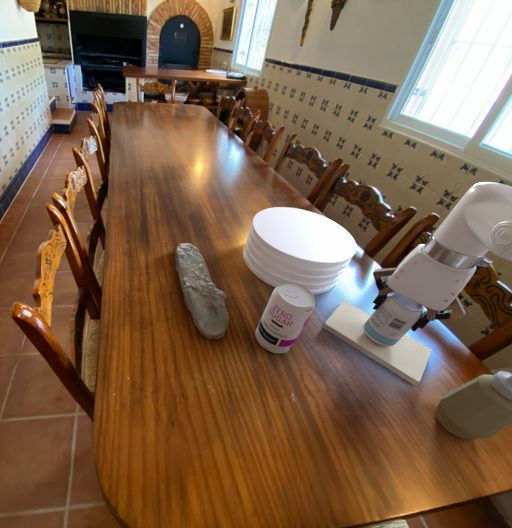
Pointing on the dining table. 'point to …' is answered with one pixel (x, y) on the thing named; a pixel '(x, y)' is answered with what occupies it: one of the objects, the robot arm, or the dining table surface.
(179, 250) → the long grey stone
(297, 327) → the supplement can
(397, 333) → the beverage can
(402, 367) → the serving board
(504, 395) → the squeeze bottle
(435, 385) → the dining table surface
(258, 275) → the plate stack
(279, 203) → the dining table surface
